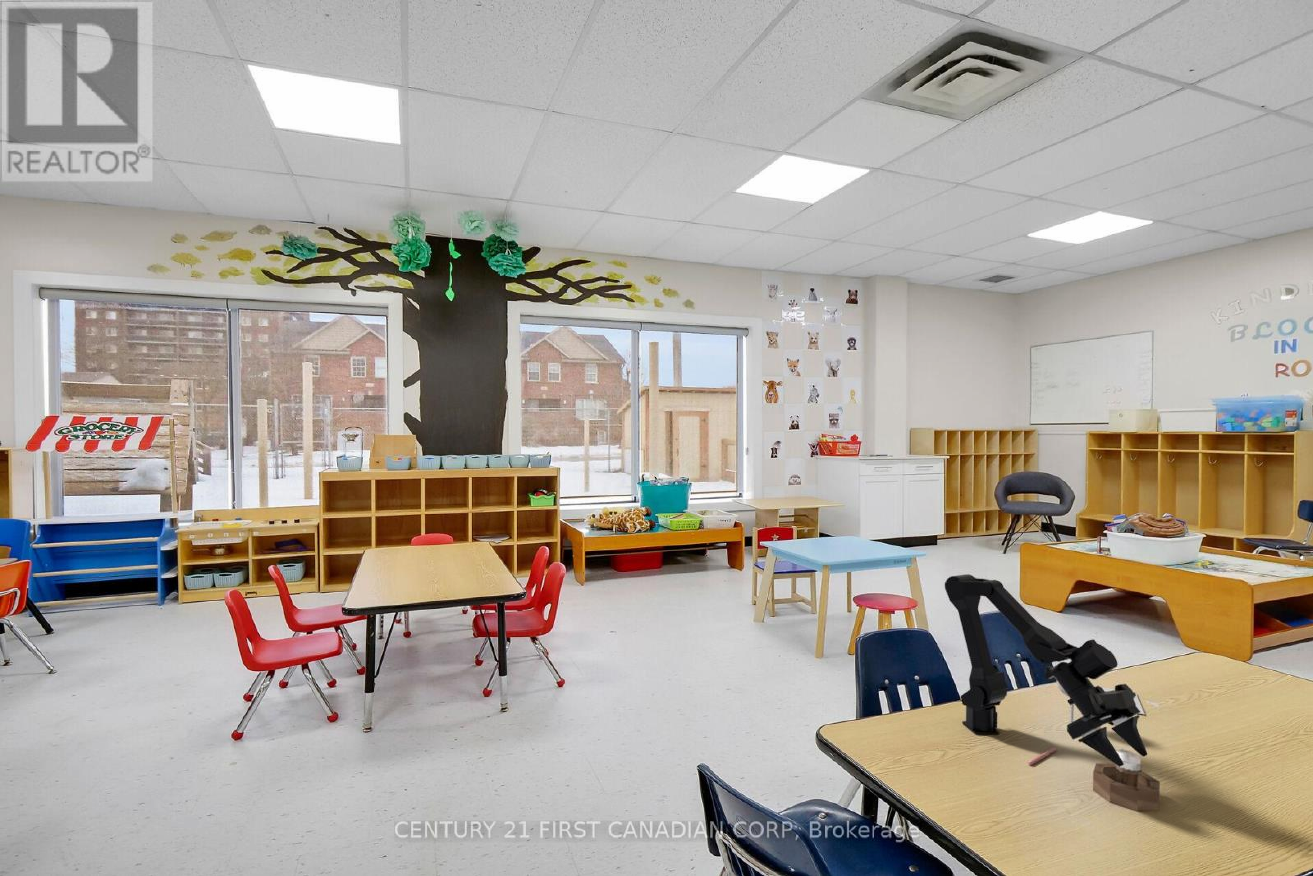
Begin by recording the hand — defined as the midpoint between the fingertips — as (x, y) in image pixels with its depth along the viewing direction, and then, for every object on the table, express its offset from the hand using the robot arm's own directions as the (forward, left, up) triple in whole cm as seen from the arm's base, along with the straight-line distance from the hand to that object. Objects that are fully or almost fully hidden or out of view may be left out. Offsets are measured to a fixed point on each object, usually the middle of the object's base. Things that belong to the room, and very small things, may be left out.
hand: (1133, 760), depth 133 cm
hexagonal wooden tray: (-1, +1, -8) cm, 8 cm away
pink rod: (-8, +17, -8) cm, 20 cm away
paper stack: (+37, +42, -9) cm, 57 cm away
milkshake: (-1, +2, -8) cm, 8 cm away
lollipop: (+11, +32, -8) cm, 35 cm away
